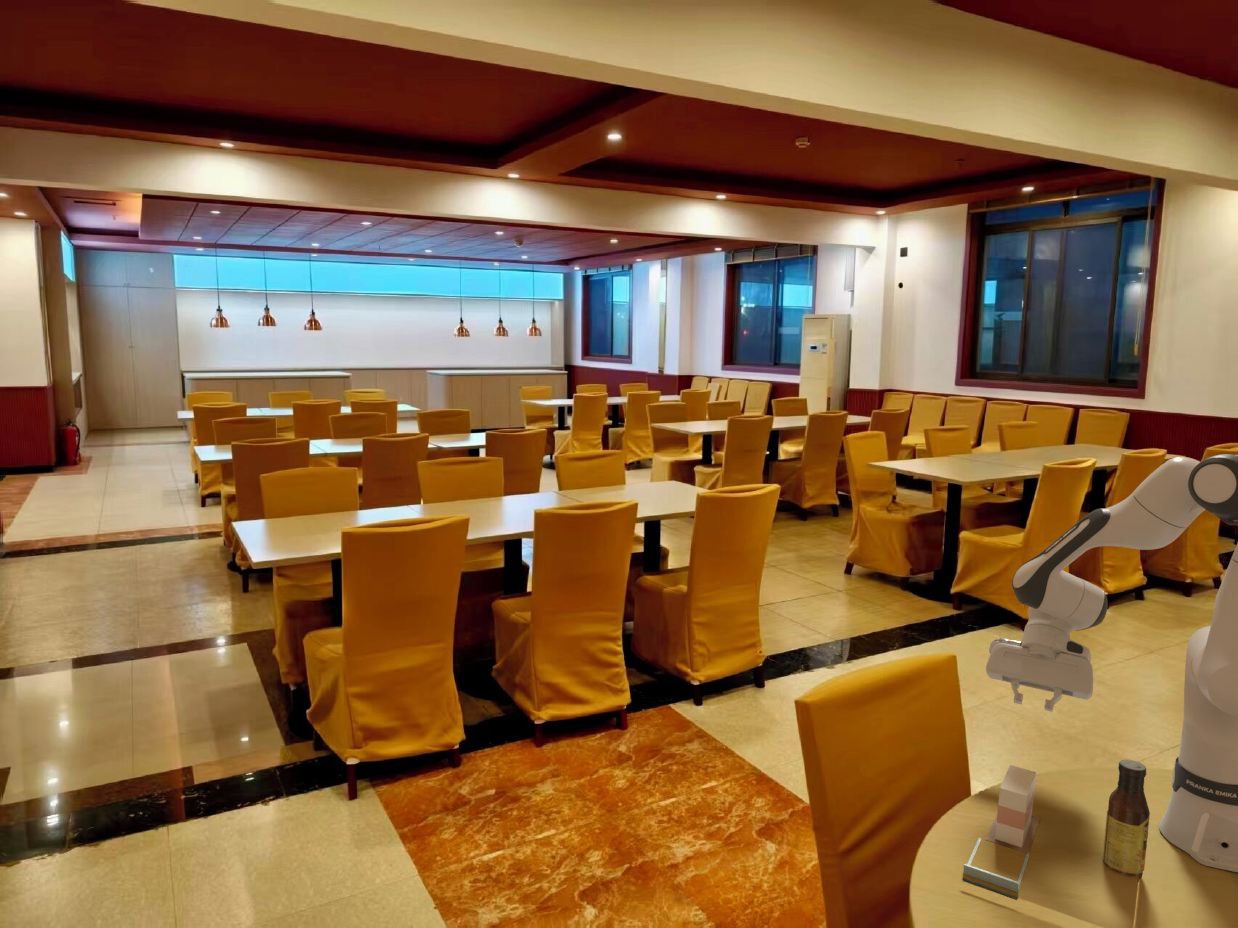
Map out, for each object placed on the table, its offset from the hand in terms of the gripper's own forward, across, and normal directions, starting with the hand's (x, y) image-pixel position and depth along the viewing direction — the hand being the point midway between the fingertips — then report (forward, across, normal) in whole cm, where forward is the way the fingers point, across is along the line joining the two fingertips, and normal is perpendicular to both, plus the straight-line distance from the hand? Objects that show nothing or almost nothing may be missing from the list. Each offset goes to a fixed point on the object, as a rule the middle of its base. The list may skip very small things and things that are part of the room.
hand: (1032, 706), depth 175 cm
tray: (+37, +1, -14) cm, 40 cm away
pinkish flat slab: (+28, +1, -5) cm, 29 cm away
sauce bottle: (+29, +19, -5) cm, 35 cm away
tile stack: (+27, +1, -6) cm, 28 cm away
